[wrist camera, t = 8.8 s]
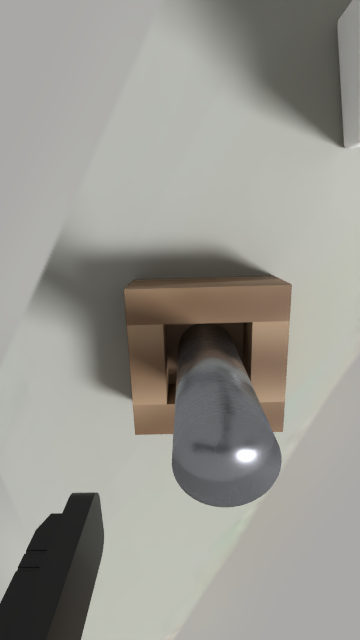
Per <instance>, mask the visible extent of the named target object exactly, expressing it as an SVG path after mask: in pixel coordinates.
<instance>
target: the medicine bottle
mask: <svg viewBox="0 0 360 640" xmlns="http://www.w3.org/2000/svg"><path fill="white" fill-rule="evenodd" d="M337 30H338V48H339V65H340V83H341V101H342V119H343V136H344V146H345V147H346V148H348V149H352V148H357V147H360V0H352V2H351V3H350V4H349V6H348V7H347V9H346V10H345V11H344V13H343V14H342V15H341V17H340V18H339V20H338V24H337Z"/></svg>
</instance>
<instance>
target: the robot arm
mask: <svg viewBox="0 0 360 640" xmlns="http://www.w3.org/2000/svg"><path fill="white" fill-rule="evenodd" d="M103 544H104V529H103V521H102V513H101V505H100V497H99V494H98V493H72V494H71V495H70V497H69V499H68V502H67V504H66V506H65V509H64V511H63V513H62V514H50V516H49V517H48V518H47V519H46V520H45V521H44V522H43V523H42V524H41V525H40V526H39V528H38V529H37V530H36V531H35V533H34V535H33V537H32V539H31V542H30V544H29V546H28V548H27V550H26V554H24V556H23V558H22V560H21V562H20V564H19V566H18V570H17V571H16V572H15V574H14V576H13V578H12V580H11V583H10V584H9V587H8V589H7V591H6V593H5V595H4V597H3V599H2V601H1V603H0V640H81V637H82V633H83V629H84V625H85V621H86V617H87V613H88V609H89V605H90V601H91V597H92V593H93V589H94V585H95V581H96V577H97V573H98V569H99V565H100V561H101V557H102V552H103Z"/></svg>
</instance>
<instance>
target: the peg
mask: <svg viewBox="0 0 360 640" xmlns="http://www.w3.org/2000/svg"><path fill="white" fill-rule="evenodd" d="M172 468H173V473H174V476H175V478H176V480H177V482H178V484H179V485H180V487H181V488H182V489H183V490H184V491H185V492H186V493H187V494H188V495H189V496H191V497H192V498H194V499H195V500H197V501H199V502H201V503H204V504H207V505H211V506H216V507H235V506H240V505H244V504H247V503H249V502H252V501H254V500H256V499H257V498H259V497H260V496H262V495H263V494H265V493H266V492H267V491H268V490H269V489H270V488H271V486H272V485H273V484H274V482H275V481H276V479H277V477H278V475H279V472H280V468H281V452H280V448H279V445H278V443H277V440H276V438H275V436H274V433H273V431H272V429H271V427H270V424H269V422H268V420H267V418H266V415H265V413H264V411H263V409H262V406H261V404H260V402H259V399H258V397H257V395H256V393H255V390H254V388H253V386H252V384H251V381H250V379H249V377H248V375H247V372H246V370H245V368H244V365H243V363H242V361H241V359H240V356H239V354H238V352H237V350H236V347H235V345H234V343H233V341H232V338H231V336H230V334H229V333H228V332H227V331H226V330H225V329H224V328H223V327H222V326H220V325H218V324H215V323H203V324H194V325H192V326H191V327H189V328H188V329H187V330H186V331H185V332H184V333H183V334H182V336H181V338H180V341H179V345H178V362H177V380H176V398H175V416H174V434H173V452H172Z"/></svg>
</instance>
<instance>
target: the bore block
mask: <svg viewBox="0 0 360 640" xmlns="http://www.w3.org/2000/svg"><path fill="white" fill-rule="evenodd" d="M291 289H292V284H290V283H287V282H285V281H283V280H281V279H279V278H277V277H275V276H248V277H215V278H181V279H148V280H133V281H132V282H131V283H130V284H129V285H128V286H127V287H126V288H125V289H124V298H125V311H126V324H127V336H128V349H129V362H130V374H131V387H132V399H133V412H134V425H135V435H141V434H174V416H175V398H176V380H177V362H178V345H179V341H180V338H181V336H182V334H183V333H184V332H185V331H186V330H187V329H188V328H189V327H191V326H192V325H194V324H203V323H215V324H218V325H220V326H222V327H223V328H224V329H225V330H226V331H227V332H228V333H229V334H230V336H231V338H232V341H233V343H234V345H235V347H236V350H237V352H238V354H239V356H240V359H241V361H242V363H243V365H244V368H245V370H246V372H247V375H248V377H249V379H250V381H251V384H252V386H253V388H254V390H255V393H256V395H257V397H258V399H259V402H260V404H261V406H262V409H263V411H264V413H265V415H266V418H267V420H268V422H269V424H270V427H271V429H272V431H273V432H283V421H284V405H285V388H286V372H287V355H288V339H289V322H290V306H291Z"/></svg>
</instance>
